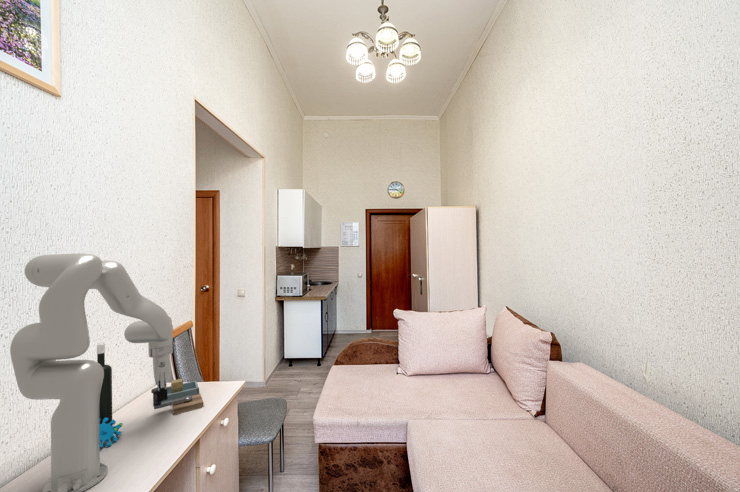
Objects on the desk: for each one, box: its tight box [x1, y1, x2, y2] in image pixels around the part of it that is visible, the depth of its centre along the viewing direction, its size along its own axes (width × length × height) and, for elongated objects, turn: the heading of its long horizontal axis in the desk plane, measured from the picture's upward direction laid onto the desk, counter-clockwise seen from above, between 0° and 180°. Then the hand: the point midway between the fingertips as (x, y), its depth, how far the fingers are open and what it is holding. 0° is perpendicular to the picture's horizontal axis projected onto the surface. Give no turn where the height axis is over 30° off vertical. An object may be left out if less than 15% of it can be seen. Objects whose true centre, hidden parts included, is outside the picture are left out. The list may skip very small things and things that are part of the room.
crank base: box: [171, 393, 204, 416], centre depth 128 cm, size 10×10×2 cm
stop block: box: [170, 378, 184, 394], centre depth 137 cm, size 4×4×6 cm
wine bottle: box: [96, 342, 113, 426], centre depth 112 cm, size 6×6×30 cm
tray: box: [161, 380, 200, 403], centre depth 137 cm, size 11×16×4 cm
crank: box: [150, 387, 192, 410], centre depth 125 cm, size 13×4×7 cm, turn 126°
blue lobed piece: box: [99, 417, 124, 449], centre depth 104 cm, size 11×6×10 cm
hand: (162, 400), depth 120 cm, fingers closed
